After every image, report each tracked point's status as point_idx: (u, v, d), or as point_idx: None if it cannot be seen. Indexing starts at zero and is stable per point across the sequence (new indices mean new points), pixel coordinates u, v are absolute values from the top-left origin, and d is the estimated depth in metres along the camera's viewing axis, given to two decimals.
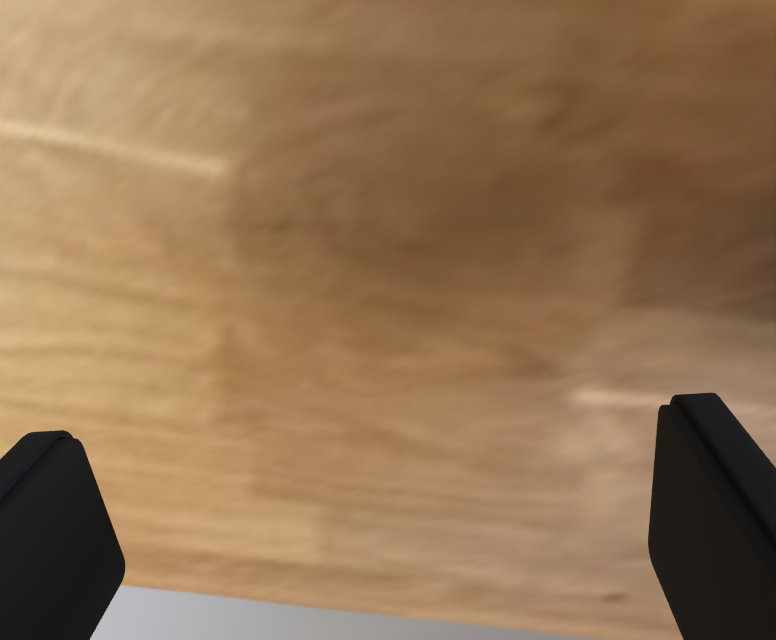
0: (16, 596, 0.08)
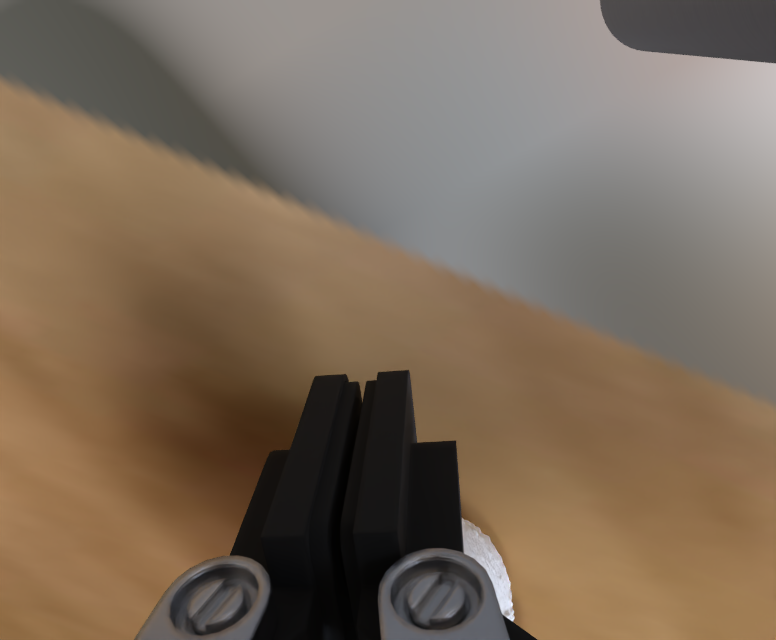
0: None
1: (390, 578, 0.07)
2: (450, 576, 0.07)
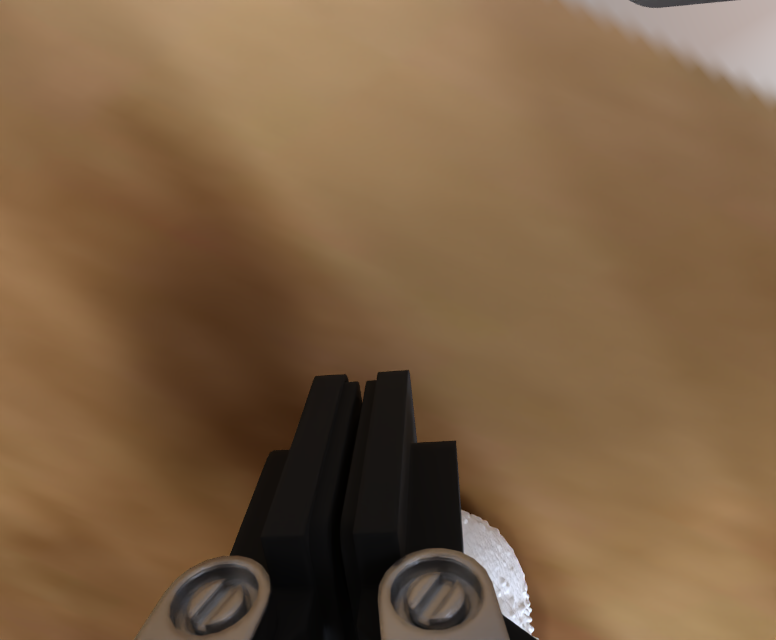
0: None
1: (390, 578, 0.07)
2: (450, 576, 0.07)
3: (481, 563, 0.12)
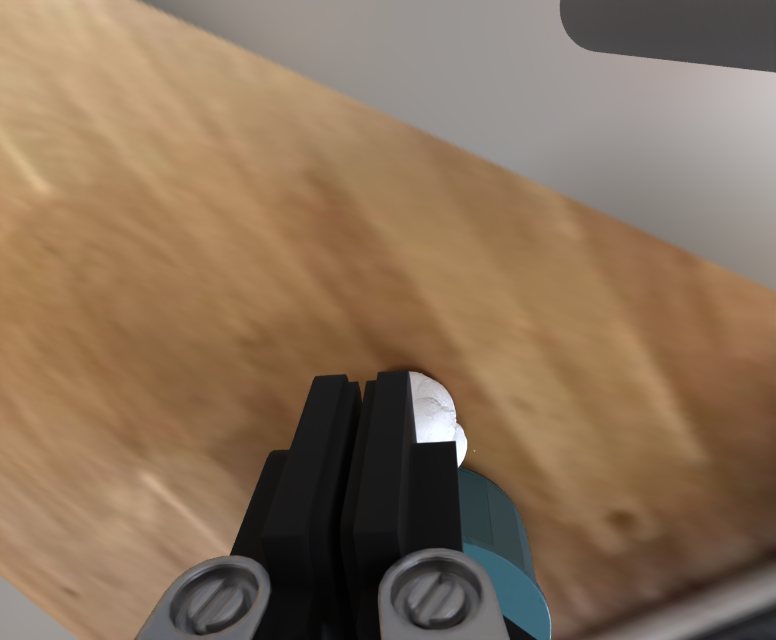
0: None
1: (390, 578, 0.07)
2: (450, 576, 0.07)
3: (435, 393, 0.35)
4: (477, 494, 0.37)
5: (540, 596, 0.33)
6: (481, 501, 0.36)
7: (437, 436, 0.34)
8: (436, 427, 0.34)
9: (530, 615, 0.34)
